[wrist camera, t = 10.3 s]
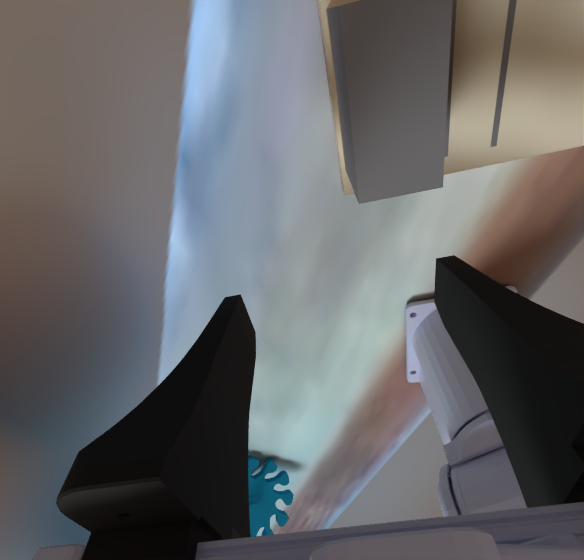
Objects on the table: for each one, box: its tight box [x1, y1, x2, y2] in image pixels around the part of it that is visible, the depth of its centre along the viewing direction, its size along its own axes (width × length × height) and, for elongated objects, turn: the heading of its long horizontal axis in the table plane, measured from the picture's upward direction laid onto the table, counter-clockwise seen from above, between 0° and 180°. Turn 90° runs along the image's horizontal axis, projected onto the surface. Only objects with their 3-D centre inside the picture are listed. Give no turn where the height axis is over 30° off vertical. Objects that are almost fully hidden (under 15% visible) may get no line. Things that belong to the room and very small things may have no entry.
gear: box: [248, 456, 293, 537], centre depth 40 cm, size 11×6×10 cm
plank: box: [317, 0, 584, 195], centre depth 17 cm, size 10×13×1 cm
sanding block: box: [326, 0, 453, 204], centre depth 15 cm, size 7×4×4 cm, turn 12°
